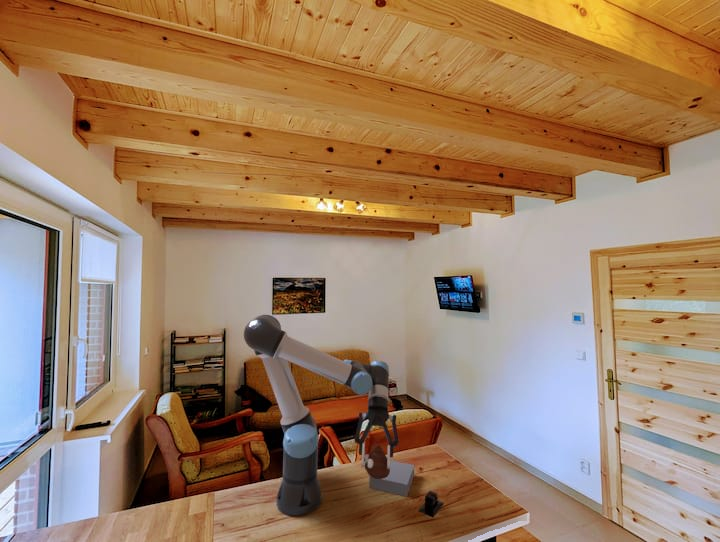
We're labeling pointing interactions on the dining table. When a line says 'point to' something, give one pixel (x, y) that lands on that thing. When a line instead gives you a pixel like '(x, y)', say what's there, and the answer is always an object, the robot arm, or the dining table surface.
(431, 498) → the black mounting bracket
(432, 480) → the dining table surface
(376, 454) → the poop emoji
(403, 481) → the grey block
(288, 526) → the dining table surface
